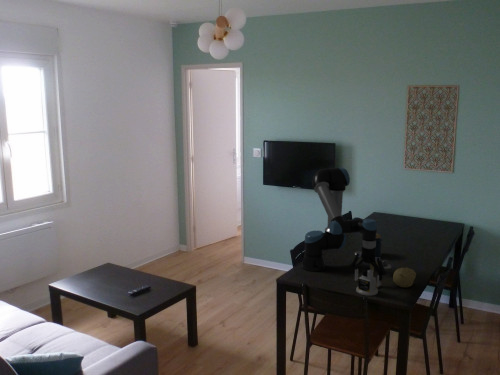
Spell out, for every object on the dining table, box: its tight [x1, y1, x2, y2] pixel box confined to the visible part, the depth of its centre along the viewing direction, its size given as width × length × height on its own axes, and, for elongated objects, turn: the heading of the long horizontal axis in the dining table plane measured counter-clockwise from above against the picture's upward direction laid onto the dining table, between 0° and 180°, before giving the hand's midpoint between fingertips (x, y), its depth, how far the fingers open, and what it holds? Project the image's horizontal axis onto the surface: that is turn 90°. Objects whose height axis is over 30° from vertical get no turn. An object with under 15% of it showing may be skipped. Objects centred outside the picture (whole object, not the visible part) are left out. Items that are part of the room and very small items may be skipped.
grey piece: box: [357, 267, 377, 293], centre depth 264 cm, size 7×7×12 cm
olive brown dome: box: [392, 267, 417, 289], centre depth 272 cm, size 11×12×11 cm
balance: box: [353, 250, 392, 290], centre depth 272 cm, size 22×7×18 cm, turn 51°
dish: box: [355, 286, 379, 297], centre depth 265 cm, size 12×12×1 cm
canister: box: [375, 232, 383, 258], centre depth 322 cm, size 13×13×18 cm
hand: (367, 282), depth 264 cm, fingers open, 13 cm apart
